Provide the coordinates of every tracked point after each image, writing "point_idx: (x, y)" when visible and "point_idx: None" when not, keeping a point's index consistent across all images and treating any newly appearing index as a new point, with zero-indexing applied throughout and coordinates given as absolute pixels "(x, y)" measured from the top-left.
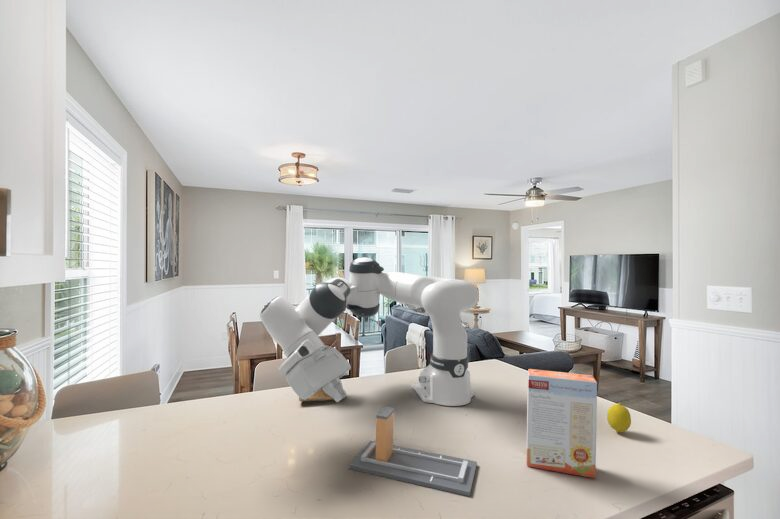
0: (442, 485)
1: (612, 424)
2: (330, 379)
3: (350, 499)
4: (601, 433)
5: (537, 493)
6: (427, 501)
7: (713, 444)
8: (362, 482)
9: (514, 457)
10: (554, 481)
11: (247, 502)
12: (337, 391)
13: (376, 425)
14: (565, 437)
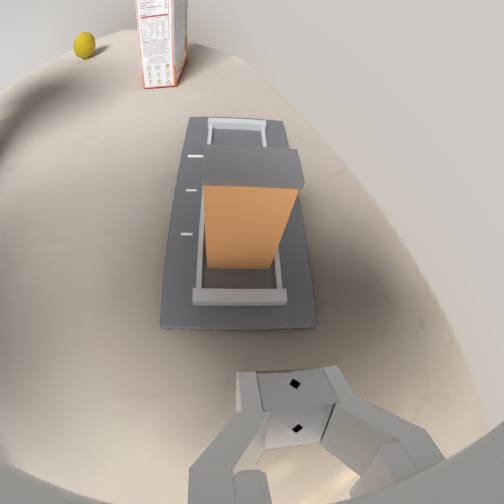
0: (285, 146)
1: (88, 50)
2: (446, 470)
3: (393, 272)
4: (87, 63)
5: (235, 83)
6: (325, 166)
7: (110, 35)
8: (343, 274)
9: (153, 96)
10: (202, 74)
11: (469, 420)
12: (351, 403)
13: (291, 207)
14: (183, 31)
